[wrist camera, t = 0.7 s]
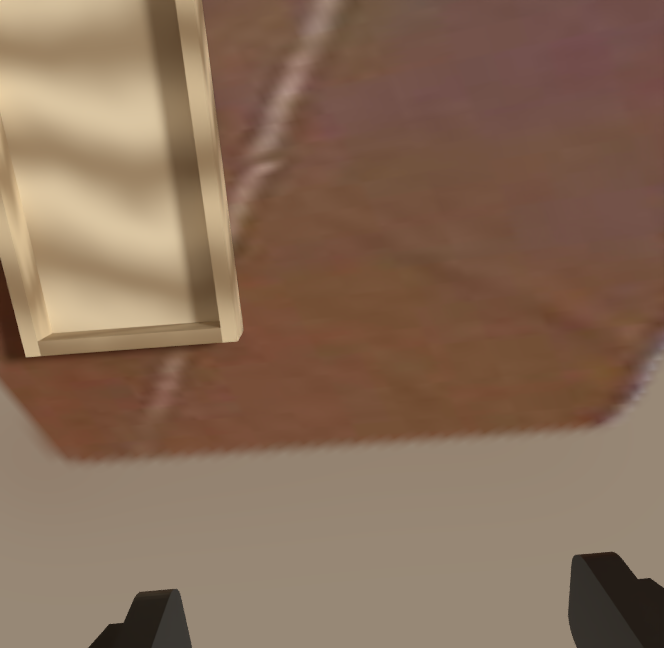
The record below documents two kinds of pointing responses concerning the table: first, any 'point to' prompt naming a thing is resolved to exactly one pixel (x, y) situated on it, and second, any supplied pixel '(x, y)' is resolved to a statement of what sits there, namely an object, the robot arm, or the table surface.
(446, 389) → the table surface
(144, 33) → the birch tray
